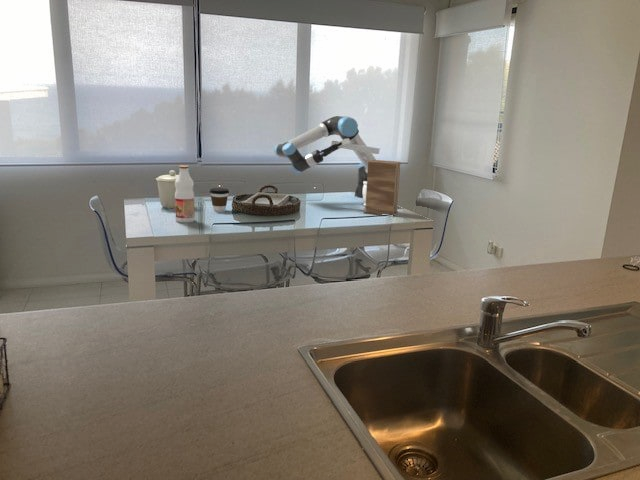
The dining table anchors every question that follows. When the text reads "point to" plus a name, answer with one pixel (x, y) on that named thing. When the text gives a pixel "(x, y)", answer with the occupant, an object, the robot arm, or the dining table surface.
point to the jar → (364, 192)
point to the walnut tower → (382, 187)
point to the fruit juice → (184, 196)
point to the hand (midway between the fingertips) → (348, 140)
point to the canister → (167, 189)
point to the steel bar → (358, 148)
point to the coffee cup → (219, 198)
